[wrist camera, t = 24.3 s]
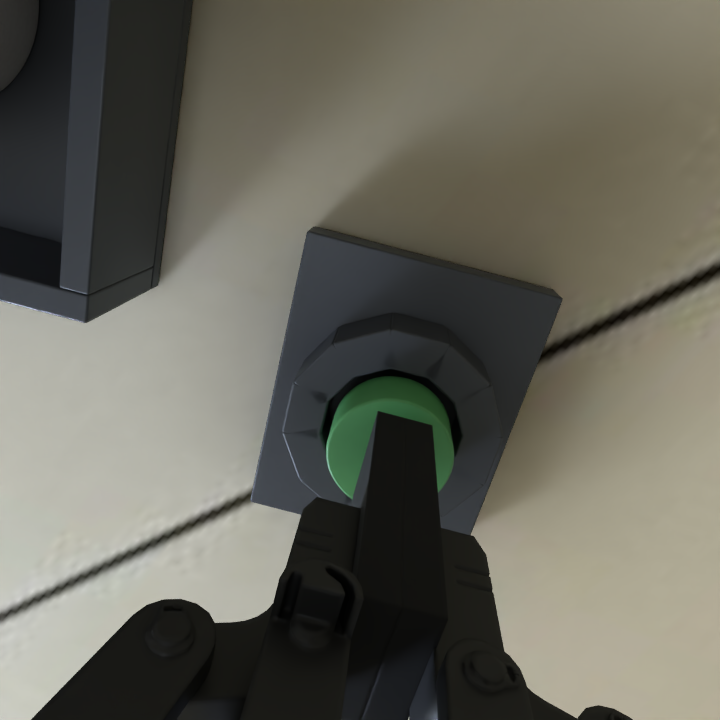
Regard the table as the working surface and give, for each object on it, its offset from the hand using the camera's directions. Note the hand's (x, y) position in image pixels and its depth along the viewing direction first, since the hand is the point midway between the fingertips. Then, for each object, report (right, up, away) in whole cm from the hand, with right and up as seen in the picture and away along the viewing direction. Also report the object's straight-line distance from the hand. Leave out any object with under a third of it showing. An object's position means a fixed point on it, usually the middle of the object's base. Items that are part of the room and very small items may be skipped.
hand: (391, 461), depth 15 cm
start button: (0, +1, +2) cm, 2 cm away
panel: (0, +2, +5) cm, 5 cm away
